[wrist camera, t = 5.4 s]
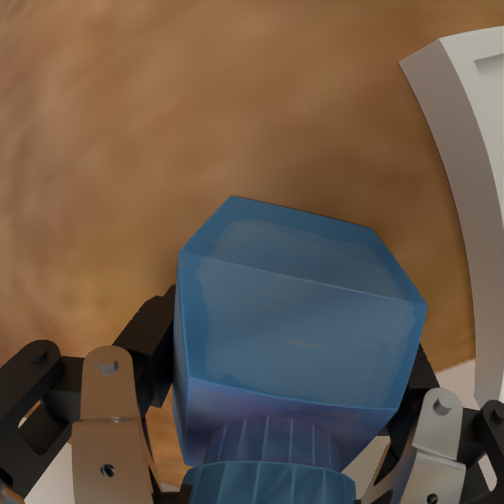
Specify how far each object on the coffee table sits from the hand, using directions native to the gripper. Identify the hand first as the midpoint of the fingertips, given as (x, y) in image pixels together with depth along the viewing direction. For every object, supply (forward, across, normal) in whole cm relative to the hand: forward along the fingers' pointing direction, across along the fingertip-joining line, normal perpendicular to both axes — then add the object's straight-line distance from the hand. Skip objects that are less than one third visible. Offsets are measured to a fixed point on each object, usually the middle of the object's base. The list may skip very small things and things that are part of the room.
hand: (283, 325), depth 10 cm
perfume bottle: (+4, 0, 0) cm, 4 cm away
